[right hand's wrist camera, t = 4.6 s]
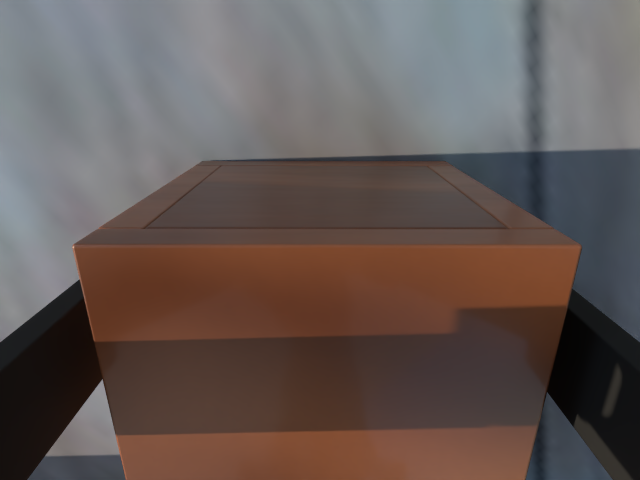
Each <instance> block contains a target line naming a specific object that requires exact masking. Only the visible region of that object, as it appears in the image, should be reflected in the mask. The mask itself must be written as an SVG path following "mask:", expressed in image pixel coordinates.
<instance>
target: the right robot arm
mask: <svg viewBox="0 0 640 480" xmlns="http://www.w3.org/2000/svg"><path fill="white" fill-rule="evenodd" d="M102 379H103V378H102V374H101V369H100V365H99V361H98V356H97V352H96V348H95V343H94V339H93V334H92V330H91V326H90V321H89V317H88V313H87V308H86V304H85V300H84V295H83V291H82V287H81V282H80V280H78V281H77V282H76V283H74V284H73V285H72V286H71V287H69V288H68V289H67V290H66V291H64V292H63V293H62V294H61V295H59V296H58V297H57V298H56V299H54V300H53V301H52V302H51V303H49V304H48V305H47V306H46V307H44V308H43V309H42V310H41V311H39V312H38V313H37V314H35V315H34V316H33V317H32V318H30V319H29V320H28V321H27V322H25V323H24V324H23V325H22V326H20V327H19V328H18V329H17V330H15V331H14V332H13V333H12V334H10V335H9V336H8V337H7V338H5V339H4V340H3V341H2V342H0V480H27V479H28V478H29V476H30V475H31V474H32V472H33V471H34V470H35V468H36V467H37V466H38V464H39V463H40V462H41V460H42V459H43V458H44V456H45V455H46V454H47V452H48V451H49V450H50V448H51V447H52V446H53V444H54V443H55V442H56V440H57V439H58V438H59V436H60V435H61V434H62V432H63V431H64V430H65V428H66V427H67V426H68V424H69V423H70V422H71V420H72V419H73V418H74V416H75V415H76V414H77V412H78V411H79V410H80V408H81V407H82V406H83V404H84V403H85V402H86V400H87V399H88V398H89V396H90V395H91V394H92V392H93V391H94V390H95V388H96V387H97V386H98V384H99V383H100V382H101V380H102ZM547 392H548V394H549V395H550V396H551V398H552V399H553V400H554V402H555V403H556V404H557V406H558V407H559V408H560V410H561V411H562V412H563V414H564V415H565V416H566V418H567V419H568V420H569V422H570V423H571V424H572V426H573V427H574V428H575V430H576V431H577V432H578V434H579V435H580V436H581V438H582V439H583V440H584V442H585V443H586V444H587V446H588V447H589V448H590V450H591V451H592V452H593V454H594V455H595V456H596V458H597V459H598V460H599V462H600V463H601V464H602V466H603V467H604V468H605V470H606V471H607V472H608V474H609V475H610V476H611V478H612V479H613V480H640V342H638V341H637V340H636V339H635V338H633V337H632V336H631V335H630V334H628V333H627V332H626V331H625V330H623V329H622V328H621V327H620V326H618V325H617V324H616V323H615V322H613V321H612V320H611V319H610V318H608V317H607V316H606V315H605V314H603V313H602V312H601V311H599V310H598V309H597V308H596V307H594V306H593V305H592V304H591V303H589V302H588V301H587V300H586V299H584V298H583V297H582V296H581V295H579V294H578V293H577V292H576V291H574V290H573V289H572V291H571V295H570V299H569V303H568V308H567V312H566V316H565V320H564V324H563V328H562V332H561V336H560V340H559V344H558V349H557V353H556V357H555V361H554V365H553V369H552V373H551V377H550V381H549V385H548V390H547Z"/></svg>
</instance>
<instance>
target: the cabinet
mask: <svg viewBox="0 0 640 480" xmlns="http://www.w3.org/2000/svg"><path fill="white" fill-rule="evenodd" d="M581 250H582V246H581V245H580V244H579V243H577V242H576V241H574V240H572V239H571V238H569V237H567V236H566V235H564V234H563V233H561V232H559V231H558V230H556V229H554V228H553V227H551V226H550V225H548V224H546V223H545V222H543V221H541V220H540V219H538V218H537V217H535V216H533V215H532V214H530V213H528V212H527V211H525V210H524V209H522V208H520V207H519V206H517V205H515V204H514V203H512V202H511V201H509V200H507V199H506V198H504V197H502V196H501V195H499V194H498V193H496V192H494V191H493V190H491V189H489V188H488V187H486V186H484V185H483V184H481V183H480V182H478V181H476V180H475V179H473V178H471V177H470V176H468V175H467V174H465V173H463V172H462V171H460V170H458V169H457V168H455V167H454V166H452V165H451V164H449V163H447V162H446V161H202V162H200V163H199V164H197V165H196V166H194V167H193V168H191V169H190V170H188V171H186V172H185V173H183V174H182V175H180V176H179V177H177V178H176V179H174V180H172V181H171V182H169V183H168V184H166V185H165V186H163V187H162V188H160V189H158V190H157V191H155V192H154V193H152V194H151V195H149V196H148V197H146V198H144V199H143V200H141V201H140V202H138V203H137V204H135V205H134V206H132V207H130V208H129V209H127V210H126V211H124V212H123V213H121V214H120V215H118V216H116V217H115V218H113V219H112V220H110V221H109V222H107V223H106V224H104V225H102V226H101V227H99V229H97V230H95V231H94V232H92V233H90V234H89V235H87V236H86V237H84V238H83V239H81V240H80V241H78V242H76V243H75V244H73V252H74V256H75V261H76V265H77V269H78V274H79V278H80V282H81V287H82V291H83V295H84V300H85V304H86V308H87V313H88V317H89V321H90V326H91V330H92V334H93V339H94V343H95V348H96V352H97V356H98V361H99V365H100V369H101V374H102V378H103V382H104V387H105V391H106V395H107V400H108V404H109V408H110V413H111V417H112V421H113V426H114V430H115V434H116V439H117V443H118V447H119V452H120V456H121V460H122V465H123V469H124V473H125V478H126V480H526V476H527V472H528V467H529V463H530V459H531V455H532V451H533V447H534V443H535V439H536V435H537V431H538V426H539V422H540V418H541V414H542V410H543V406H544V402H545V398H546V394H547V390H548V385H549V381H550V377H551V373H552V369H553V365H554V361H555V357H556V353H557V349H558V344H559V340H560V336H561V332H562V328H563V324H564V320H565V316H566V312H567V308H568V303H569V299H570V295H571V291H572V287H573V283H574V279H575V275H576V271H577V267H578V263H579V258H580V254H581Z"/></svg>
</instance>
